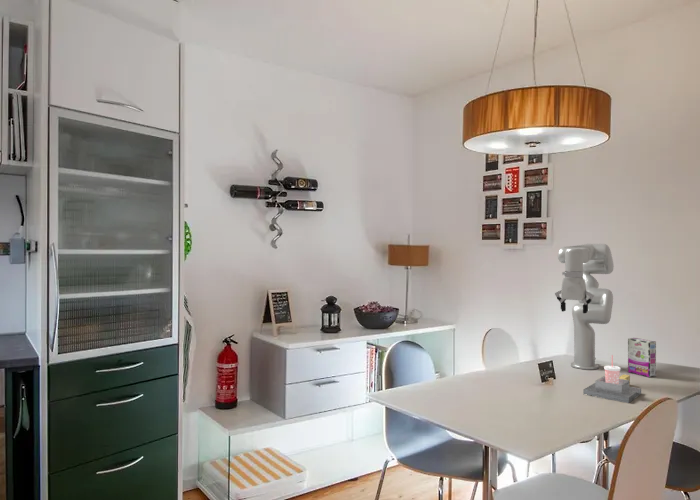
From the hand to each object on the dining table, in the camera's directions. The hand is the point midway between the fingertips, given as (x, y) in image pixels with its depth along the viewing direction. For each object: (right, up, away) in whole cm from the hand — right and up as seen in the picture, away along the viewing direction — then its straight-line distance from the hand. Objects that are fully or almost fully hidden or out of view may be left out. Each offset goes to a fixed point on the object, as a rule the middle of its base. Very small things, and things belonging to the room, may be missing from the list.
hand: (574, 312), depth 238 cm
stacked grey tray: (+5, -31, -25) cm, 40 cm away
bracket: (+13, -30, -16) cm, 37 cm away
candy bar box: (+34, -30, +5) cm, 46 cm away
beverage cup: (+5, -29, -25) cm, 38 cm away
